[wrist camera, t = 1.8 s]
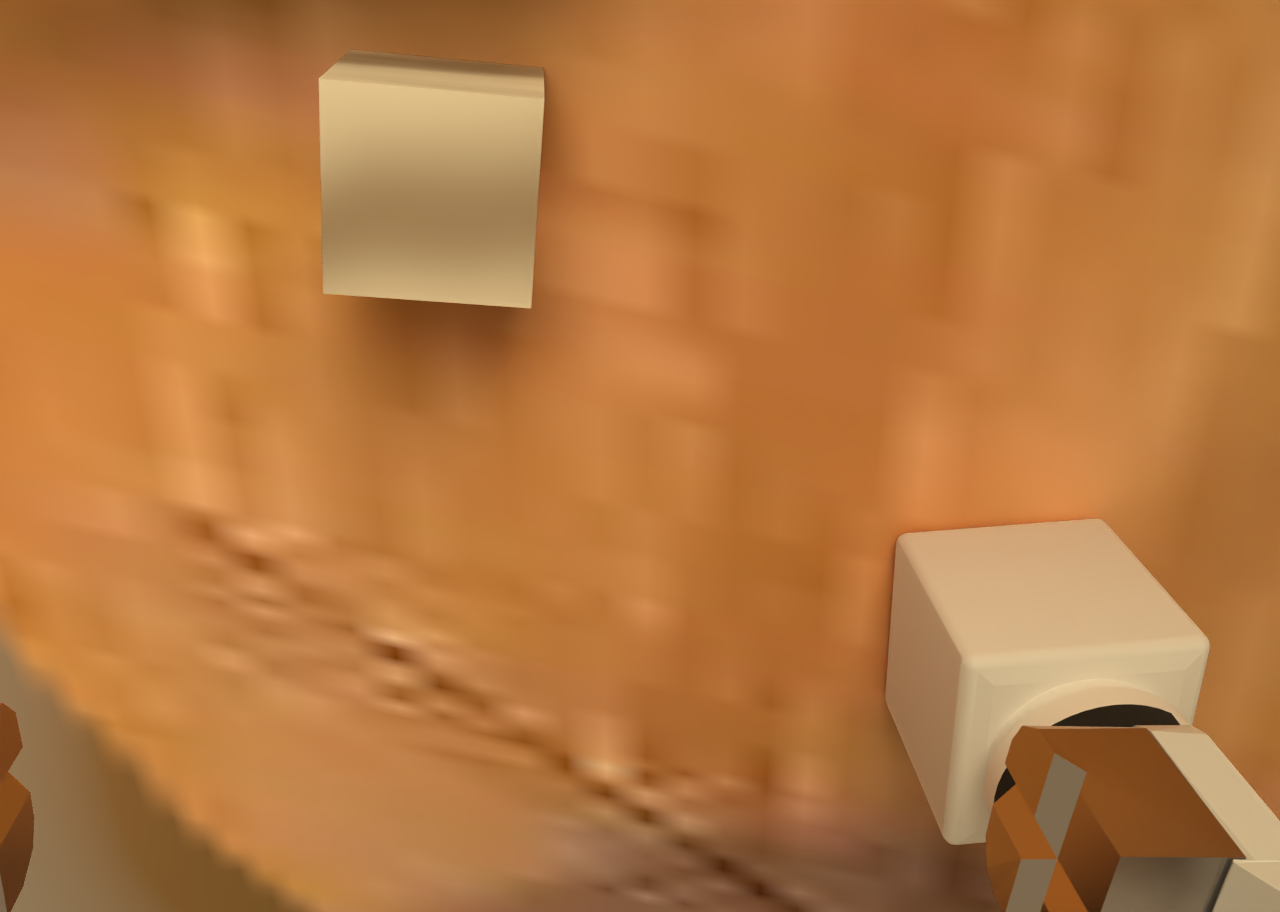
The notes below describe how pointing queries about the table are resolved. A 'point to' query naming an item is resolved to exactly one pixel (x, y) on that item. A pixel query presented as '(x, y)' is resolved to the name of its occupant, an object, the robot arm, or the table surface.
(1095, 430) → the table surface
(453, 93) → the ash cube
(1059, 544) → the medicine bottle
